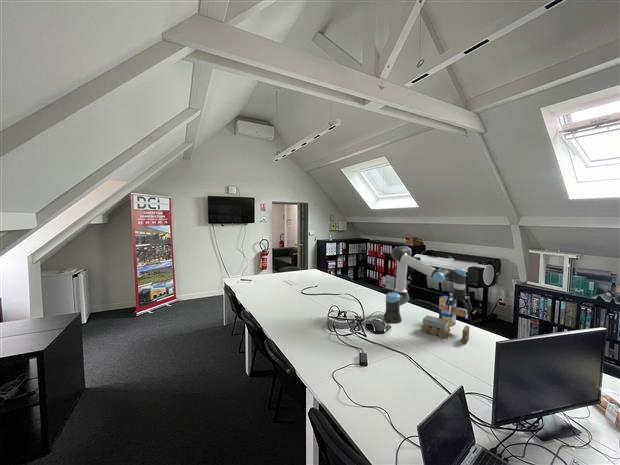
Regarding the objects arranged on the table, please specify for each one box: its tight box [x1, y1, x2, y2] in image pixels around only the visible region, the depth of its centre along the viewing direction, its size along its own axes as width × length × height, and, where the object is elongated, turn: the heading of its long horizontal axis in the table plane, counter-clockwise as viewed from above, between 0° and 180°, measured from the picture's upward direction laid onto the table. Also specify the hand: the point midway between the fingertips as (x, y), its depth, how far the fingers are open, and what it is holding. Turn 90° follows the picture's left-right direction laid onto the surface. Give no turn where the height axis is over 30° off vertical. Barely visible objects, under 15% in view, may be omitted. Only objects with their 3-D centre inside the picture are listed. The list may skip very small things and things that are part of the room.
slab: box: [422, 315, 449, 330], centre depth 195 cm, size 16×10×4 cm, turn 48°
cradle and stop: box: [446, 325, 470, 345], centre depth 185 cm, size 12×10×10 cm
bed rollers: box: [421, 324, 451, 339], centre depth 196 cm, size 11×18×6 cm, turn 48°
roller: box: [451, 306, 467, 318], centre depth 198 cm, size 11×6×6 cm
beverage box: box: [438, 295, 457, 327], centre depth 213 cm, size 7×11×22 cm, turn 36°
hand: (457, 316), depth 195 cm, fingers closed on roller, 11 cm apart
